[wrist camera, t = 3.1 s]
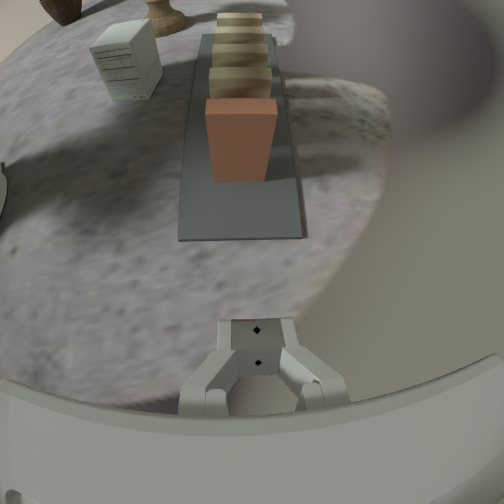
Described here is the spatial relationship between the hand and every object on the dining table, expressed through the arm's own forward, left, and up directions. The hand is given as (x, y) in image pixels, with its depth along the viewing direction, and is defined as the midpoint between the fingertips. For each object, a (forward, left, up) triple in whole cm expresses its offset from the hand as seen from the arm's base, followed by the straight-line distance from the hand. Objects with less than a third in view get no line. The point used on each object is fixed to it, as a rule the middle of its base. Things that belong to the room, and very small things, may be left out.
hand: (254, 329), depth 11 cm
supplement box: (-17, +37, -18) cm, 45 cm away
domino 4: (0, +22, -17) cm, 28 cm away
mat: (0, +31, -18) cm, 36 cm away
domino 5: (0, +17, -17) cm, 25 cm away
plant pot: (-57, +90, -18) cm, 108 cm away
